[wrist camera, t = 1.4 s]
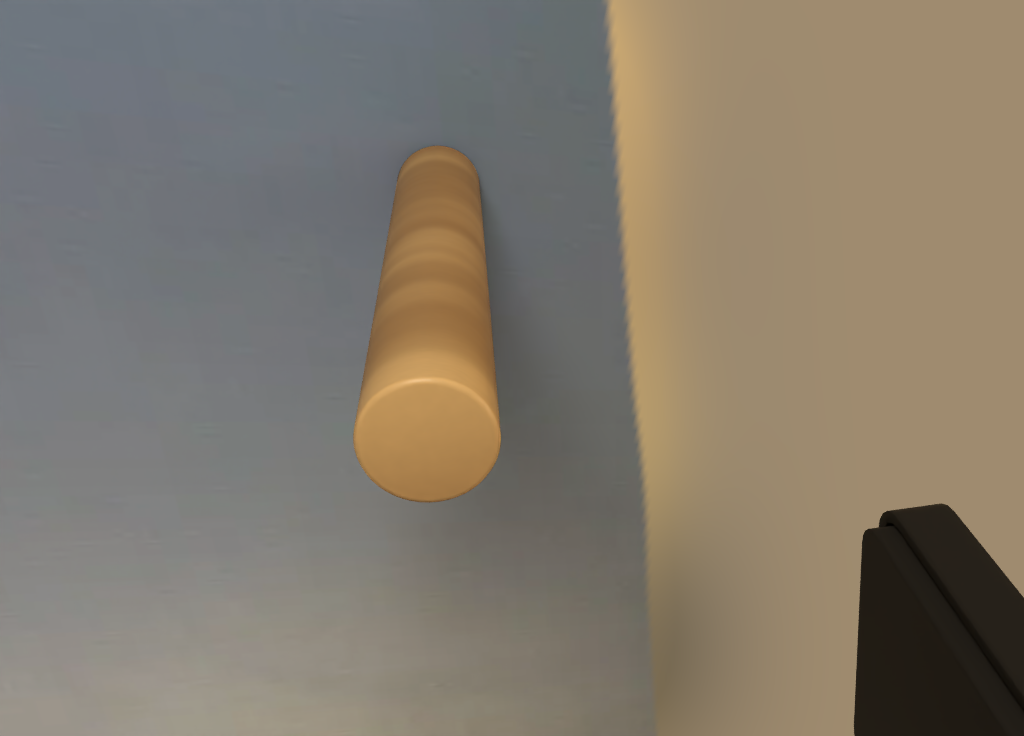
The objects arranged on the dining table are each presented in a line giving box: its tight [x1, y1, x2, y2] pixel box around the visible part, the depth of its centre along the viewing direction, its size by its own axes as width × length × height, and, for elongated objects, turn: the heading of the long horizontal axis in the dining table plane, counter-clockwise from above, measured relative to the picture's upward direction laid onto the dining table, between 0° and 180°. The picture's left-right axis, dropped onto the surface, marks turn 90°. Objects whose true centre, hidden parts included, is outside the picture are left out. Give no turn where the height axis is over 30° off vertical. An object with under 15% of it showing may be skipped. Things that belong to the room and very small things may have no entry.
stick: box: [353, 146, 501, 502], centre depth 19 cm, size 2×2×12 cm
